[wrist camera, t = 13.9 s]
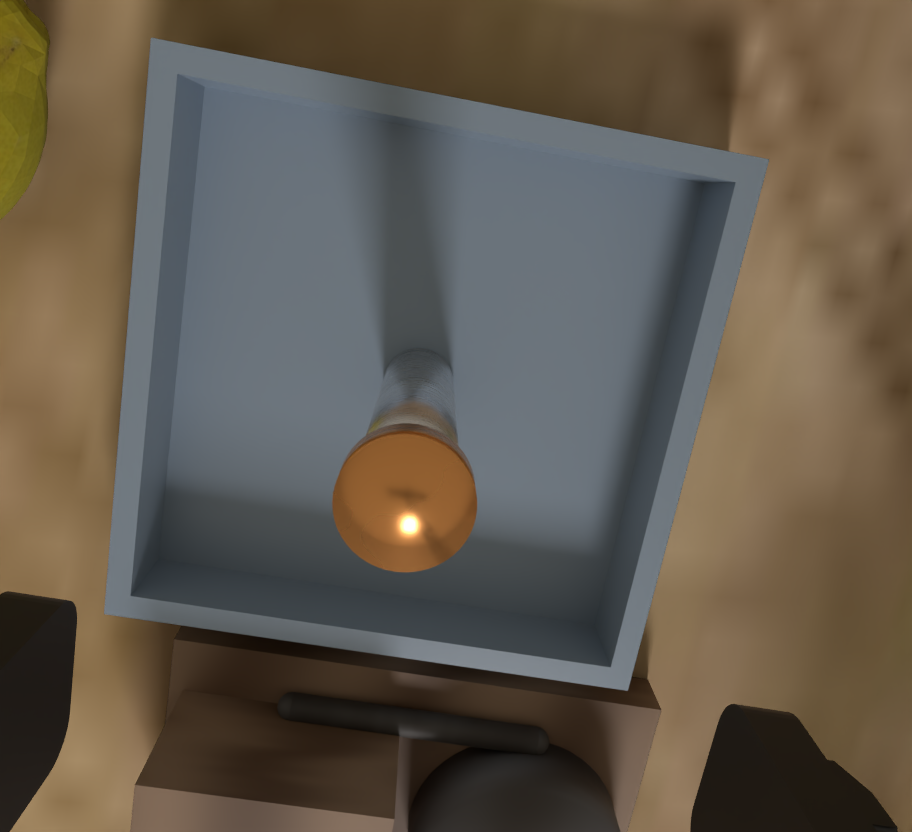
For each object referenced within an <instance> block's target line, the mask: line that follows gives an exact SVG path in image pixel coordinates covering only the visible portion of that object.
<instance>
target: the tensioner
mask: <svg viewBox="0 0 912 832" xmlns="http://www.w3.org/2000/svg"><path fill="white" fill-rule="evenodd" d="M660 713H661V708H660V706H659V704H658V701H657V699H656V697H655V695H654V692H653V690H652V688H651V686H650V683H649V681H648V680H647V679H640V678H634V677H631V681H630V684H629V688H628V691H625V690H619V689H612V688H605V687H598V686H591V685H585V684H578V683H571V682H564V681H557V680H550V679H544V678H537V677H530V676H523V675H516V674H510V673H503V672H496V671H489V670H482V669H475V668H469V667H462V666H455V665H448V664H441V663H435V662H428V661H421V660H414V659H407V658H400V657H394V656H387V655H380V654H373V653H366V652H360V651H353V650H346V649H339V648H332V647H325V646H319V645H312V644H305V643H298V642H291V641H285V640H278V639H271V638H264V637H257V636H250V635H244V634H237V633H230V632H223V631H216V630H210V629H203V628H196V627H189V626H182V627H181V628H180V630H179V632H178V633H177V635H176V637H175V639H174V645H173V655H172V664H171V673H170V683H169V692H168V702H167V711H166V721H165V726H164V728H163V730H162V732H161V734H160V736H159V738H158V740H157V742H156V744H155V746H154V748H153V750H152V752H151V754H150V756H149V758H148V760H147V762H146V764H145V766H144V768H143V770H142V772H141V774H140V776H139V778H138V780H137V782H136V784H135V789H134V799H133V810H132V820H131V830H130V832H627V831H628V827H629V824H630V820H631V817H632V813H633V810H634V806H635V802H636V799H637V795H638V792H639V788H640V785H641V781H642V777H643V774H644V770H645V767H646V763H647V759H648V756H649V752H650V749H651V745H652V742H653V738H654V734H655V731H656V727H657V724H658V720H659V717H660Z"/></svg>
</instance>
